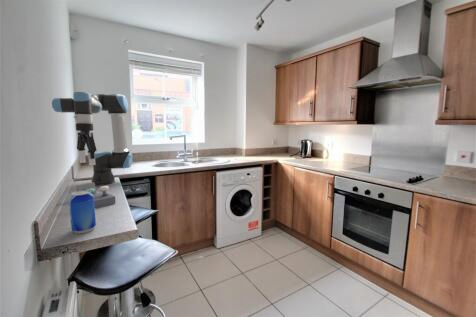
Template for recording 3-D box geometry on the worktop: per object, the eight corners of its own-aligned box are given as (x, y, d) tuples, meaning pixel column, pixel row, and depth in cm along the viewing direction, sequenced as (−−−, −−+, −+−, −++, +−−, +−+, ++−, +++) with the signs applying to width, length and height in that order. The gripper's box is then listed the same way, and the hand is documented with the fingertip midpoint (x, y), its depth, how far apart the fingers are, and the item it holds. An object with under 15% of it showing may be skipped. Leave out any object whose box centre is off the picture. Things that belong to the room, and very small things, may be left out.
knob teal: (93, 197, 126) (92, 187, 126) (96, 199, 124) (96, 189, 123) (84, 199, 123) (83, 189, 122) (87, 201, 120) (86, 191, 119)
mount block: (106, 198, 135) (106, 192, 135) (115, 203, 128) (115, 196, 127) (81, 204, 125) (80, 197, 125) (89, 209, 118) (88, 202, 117)
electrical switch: (79, 201, 130) (77, 185, 129) (76, 200, 133) (74, 184, 132) (97, 197, 137) (95, 182, 136) (94, 197, 140) (92, 182, 140)
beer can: (93, 223, 101) (90, 188, 99) (98, 230, 95) (95, 192, 93) (70, 229, 96) (66, 192, 93) (73, 236, 90) (69, 196, 87)
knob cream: (107, 194, 132) (106, 185, 131) (110, 196, 129) (109, 186, 128) (98, 196, 128) (98, 186, 128) (102, 198, 126) (101, 188, 125)
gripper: (67, 123, 123) (71, 162, 126) (84, 122, 108) (88, 167, 110) (83, 123, 129) (86, 161, 131) (102, 122, 113) (105, 165, 116)
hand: (87, 164), depth 121 cm, fingers open, 13 cm apart
